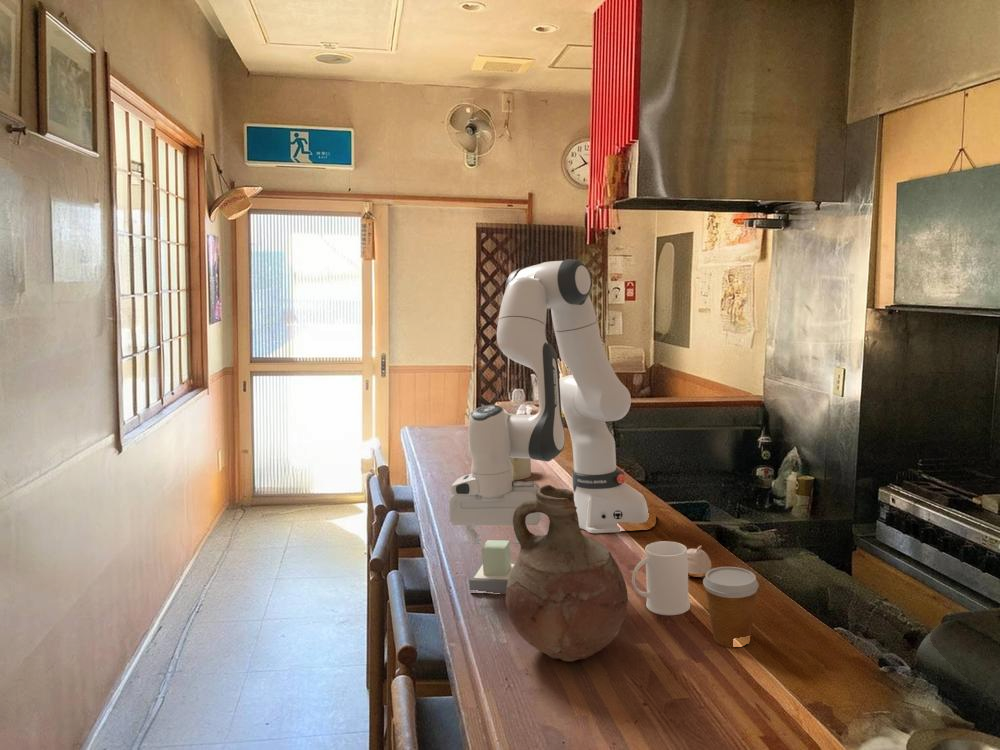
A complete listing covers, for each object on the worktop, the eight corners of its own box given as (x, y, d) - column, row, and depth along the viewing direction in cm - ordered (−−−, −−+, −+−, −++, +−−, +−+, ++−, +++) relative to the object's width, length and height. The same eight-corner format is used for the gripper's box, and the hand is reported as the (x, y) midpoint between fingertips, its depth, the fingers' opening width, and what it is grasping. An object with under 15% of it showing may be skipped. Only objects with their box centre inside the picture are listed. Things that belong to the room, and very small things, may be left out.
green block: (511, 566, 172) (509, 540, 171) (506, 575, 167) (504, 548, 167) (489, 566, 173) (487, 540, 173) (483, 575, 169) (481, 548, 168)
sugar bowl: (542, 479, 250) (539, 433, 248) (510, 485, 246) (507, 438, 244) (523, 469, 264) (520, 426, 262) (492, 474, 260) (489, 430, 258)
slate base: (525, 576, 174) (524, 562, 174) (515, 595, 165) (514, 581, 164) (481, 574, 177) (481, 561, 176) (470, 593, 167) (469, 579, 167)
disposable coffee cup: (752, 657, 134) (750, 590, 132) (697, 646, 139) (695, 581, 137) (765, 633, 142) (764, 570, 140) (713, 623, 147) (711, 562, 145)
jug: (629, 685, 127) (621, 508, 123) (499, 681, 131) (487, 509, 127) (630, 624, 148) (624, 471, 144) (518, 622, 152) (509, 473, 148)
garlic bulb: (678, 580, 167) (677, 544, 166) (682, 569, 173) (681, 534, 172) (710, 583, 164) (709, 546, 163) (713, 571, 170) (712, 536, 169)
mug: (640, 621, 149) (638, 561, 148) (624, 603, 158) (621, 546, 156) (697, 611, 152) (695, 552, 150) (678, 594, 160) (676, 538, 158)
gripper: (543, 476, 168) (547, 538, 170) (451, 478, 173) (457, 538, 175) (538, 485, 162) (543, 549, 164) (443, 487, 167) (449, 548, 169)
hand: (498, 543), depth 170 cm, fingers open, 8 cm apart
